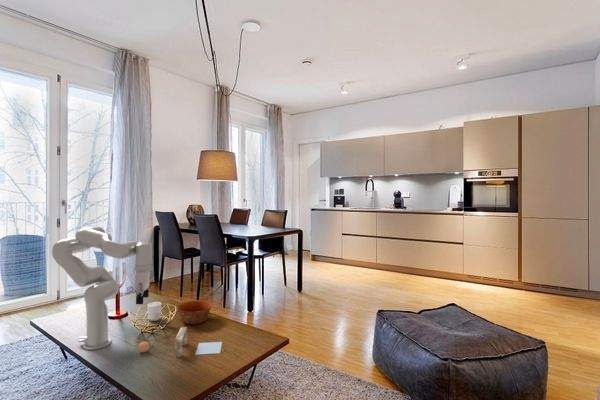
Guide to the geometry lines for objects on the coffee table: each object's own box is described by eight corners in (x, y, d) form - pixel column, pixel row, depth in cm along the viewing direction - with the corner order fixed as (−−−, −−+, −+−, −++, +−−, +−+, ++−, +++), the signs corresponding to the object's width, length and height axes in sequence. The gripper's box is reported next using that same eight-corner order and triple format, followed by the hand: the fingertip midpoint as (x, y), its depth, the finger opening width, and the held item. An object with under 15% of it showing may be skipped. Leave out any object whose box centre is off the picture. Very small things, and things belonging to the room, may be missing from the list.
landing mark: (195, 354, 162) (195, 354, 162) (199, 343, 174) (199, 343, 174) (220, 353, 164) (220, 352, 164) (222, 342, 176) (222, 341, 176)
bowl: (201, 312, 217) (202, 297, 217) (218, 321, 202) (218, 306, 202) (170, 320, 202) (170, 304, 202) (186, 331, 187) (186, 314, 187)
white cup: (164, 318, 205) (164, 303, 205) (153, 323, 198) (153, 307, 198) (155, 316, 209) (155, 301, 208) (144, 320, 201) (144, 304, 201)
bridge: (174, 357, 159) (174, 339, 159) (180, 343, 173) (180, 327, 173) (181, 356, 160) (181, 339, 160) (186, 343, 174) (186, 327, 173)
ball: (136, 354, 161) (136, 344, 161) (139, 349, 166) (139, 340, 166) (147, 354, 162) (147, 344, 161) (150, 349, 167) (150, 339, 166)
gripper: (140, 263, 173) (139, 295, 174) (129, 271, 156) (128, 307, 157) (155, 263, 174) (154, 294, 175) (146, 271, 157) (145, 306, 158)
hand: (142, 300), depth 166 cm, fingers open, 9 cm apart
